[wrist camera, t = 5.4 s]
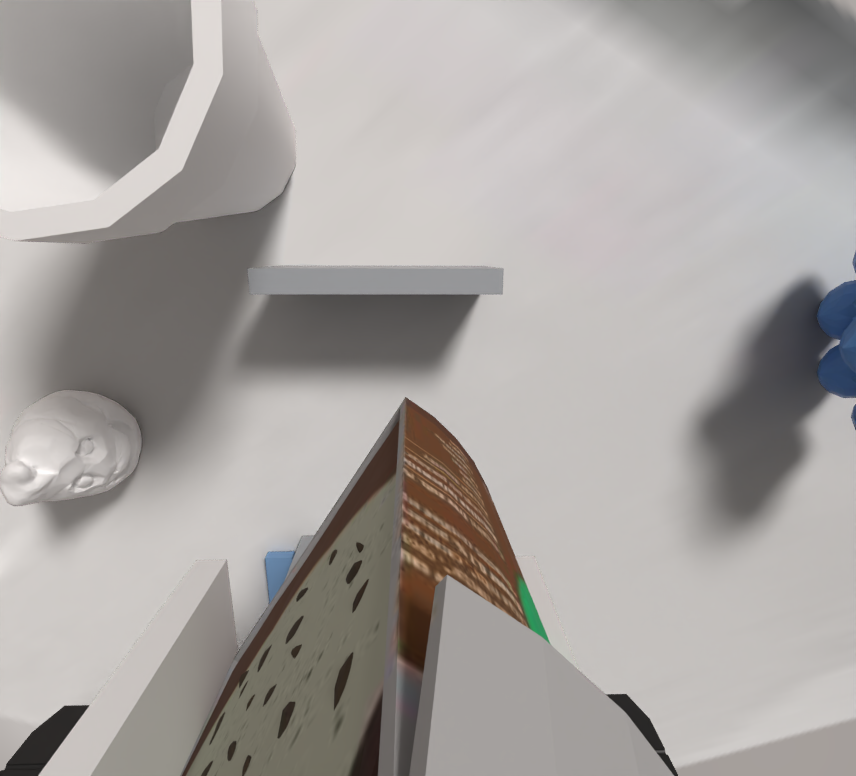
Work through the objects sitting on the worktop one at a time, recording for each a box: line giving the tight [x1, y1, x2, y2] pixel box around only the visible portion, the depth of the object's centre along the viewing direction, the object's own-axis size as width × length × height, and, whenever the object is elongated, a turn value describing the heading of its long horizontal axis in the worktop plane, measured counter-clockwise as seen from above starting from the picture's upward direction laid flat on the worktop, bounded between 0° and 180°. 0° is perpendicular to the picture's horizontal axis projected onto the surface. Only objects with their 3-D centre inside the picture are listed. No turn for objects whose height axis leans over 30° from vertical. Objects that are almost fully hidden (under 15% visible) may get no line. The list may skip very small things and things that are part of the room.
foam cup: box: [0, 0, 296, 244], centre depth 16 cm, size 10×9×13 cm
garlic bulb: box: [0, 390, 142, 506], centre depth 23 cm, size 6×6×5 cm
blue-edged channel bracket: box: [247, 266, 504, 602], centre depth 24 cm, size 12×31×7 cm, turn 0°
